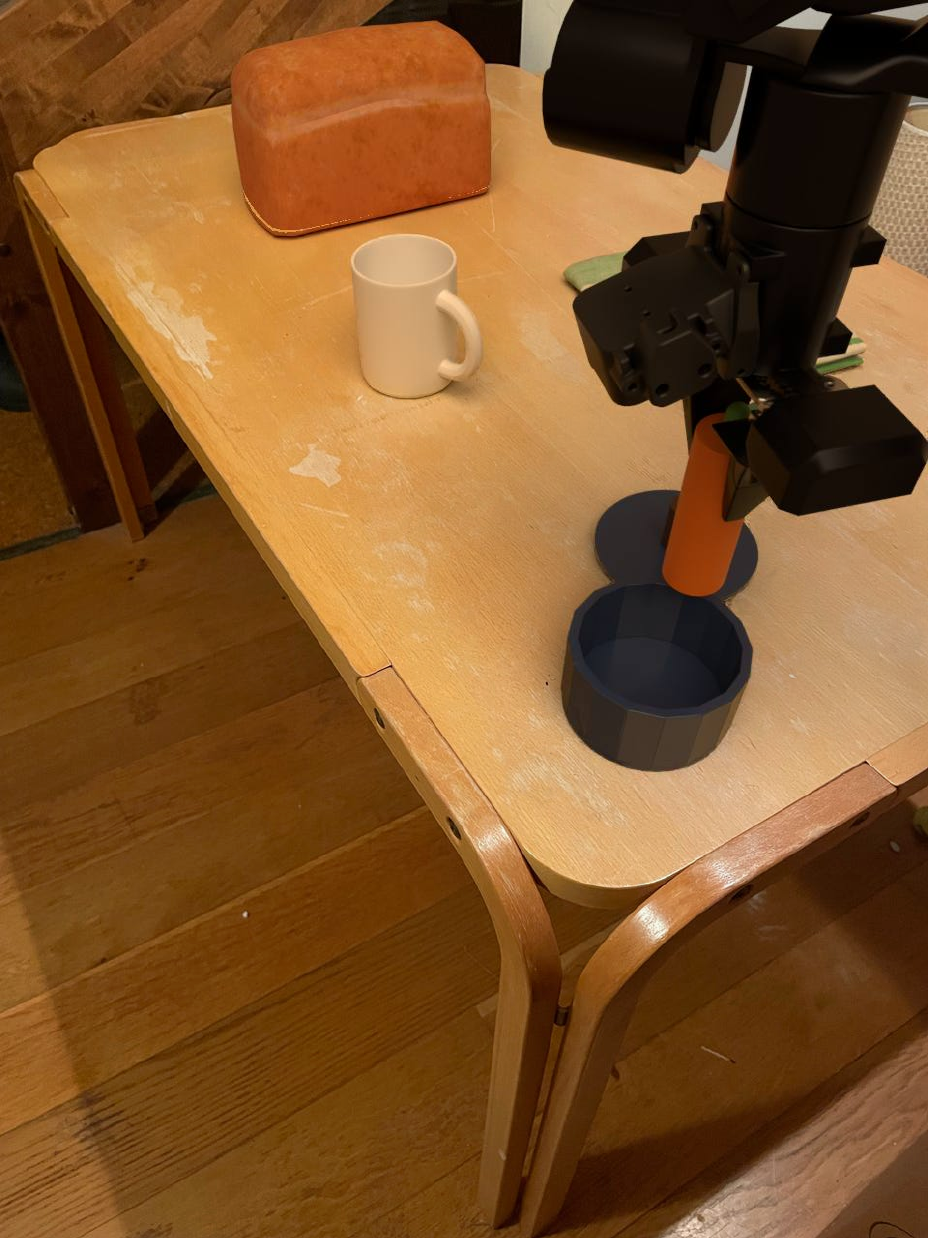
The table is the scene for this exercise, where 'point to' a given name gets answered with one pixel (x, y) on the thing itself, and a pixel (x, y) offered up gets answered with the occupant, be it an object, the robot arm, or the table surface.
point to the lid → (658, 541)
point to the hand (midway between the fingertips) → (715, 494)
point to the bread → (360, 124)
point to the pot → (653, 673)
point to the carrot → (703, 514)
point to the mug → (411, 316)
